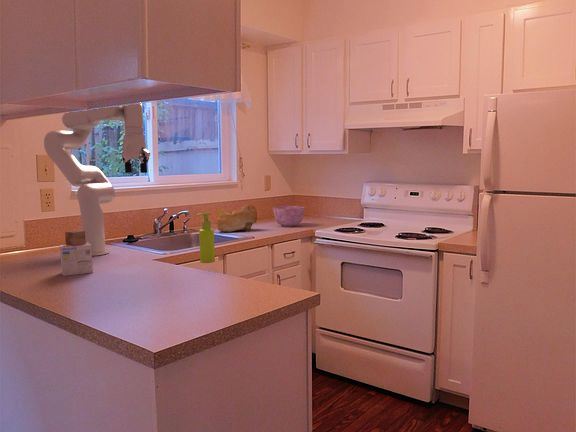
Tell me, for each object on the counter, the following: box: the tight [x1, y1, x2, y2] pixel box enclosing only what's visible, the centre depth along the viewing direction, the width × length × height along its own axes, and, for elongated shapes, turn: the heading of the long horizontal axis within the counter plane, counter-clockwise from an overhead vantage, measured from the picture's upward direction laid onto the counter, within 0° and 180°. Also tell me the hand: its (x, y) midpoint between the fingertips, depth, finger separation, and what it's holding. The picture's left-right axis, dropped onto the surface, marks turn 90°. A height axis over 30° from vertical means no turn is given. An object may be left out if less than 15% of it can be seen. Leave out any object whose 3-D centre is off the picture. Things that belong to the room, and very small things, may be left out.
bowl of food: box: [272, 205, 306, 228], centre depth 318 cm, size 20×20×12 cm
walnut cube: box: [64, 229, 86, 246], centre depth 192 cm, size 5×5×5 cm
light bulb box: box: [59, 243, 94, 277], centre depth 193 cm, size 11×7×11 cm, turn 120°
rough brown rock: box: [216, 204, 258, 233], centre depth 302 cm, size 23×17×15 cm
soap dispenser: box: [195, 212, 216, 264], centre depth 210 cm, size 6×7×20 cm
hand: (136, 172), depth 219 cm, fingers open, 9 cm apart
